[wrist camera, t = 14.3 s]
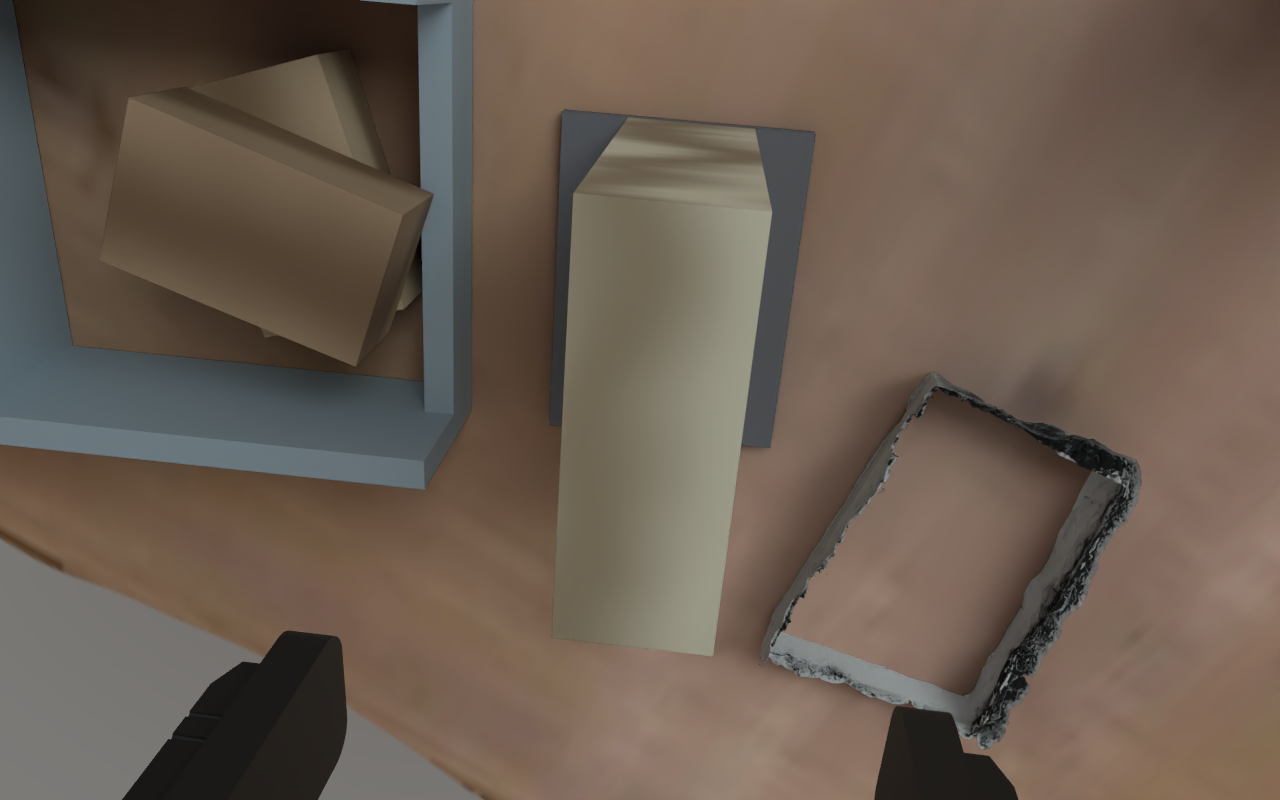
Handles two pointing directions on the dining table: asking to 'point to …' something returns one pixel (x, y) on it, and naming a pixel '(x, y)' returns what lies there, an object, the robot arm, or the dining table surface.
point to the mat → (787, 191)
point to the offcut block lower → (315, 115)
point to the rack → (229, 391)
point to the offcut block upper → (261, 223)
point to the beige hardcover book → (657, 381)
